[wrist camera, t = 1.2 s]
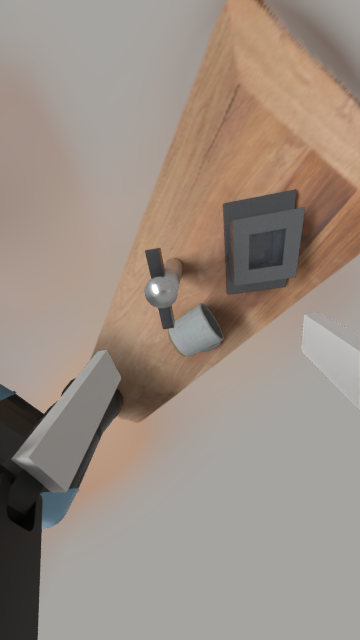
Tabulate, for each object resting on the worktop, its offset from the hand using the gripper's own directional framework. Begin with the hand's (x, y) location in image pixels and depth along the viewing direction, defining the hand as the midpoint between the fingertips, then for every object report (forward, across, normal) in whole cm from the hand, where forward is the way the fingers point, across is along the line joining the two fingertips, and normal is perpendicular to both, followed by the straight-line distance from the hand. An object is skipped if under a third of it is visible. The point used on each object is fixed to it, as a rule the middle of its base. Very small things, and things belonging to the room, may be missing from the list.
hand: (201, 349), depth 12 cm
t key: (+21, -3, +3) cm, 22 cm away
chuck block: (+21, +11, +3) cm, 24 cm away
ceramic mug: (+22, -1, -10) cm, 24 cm away
